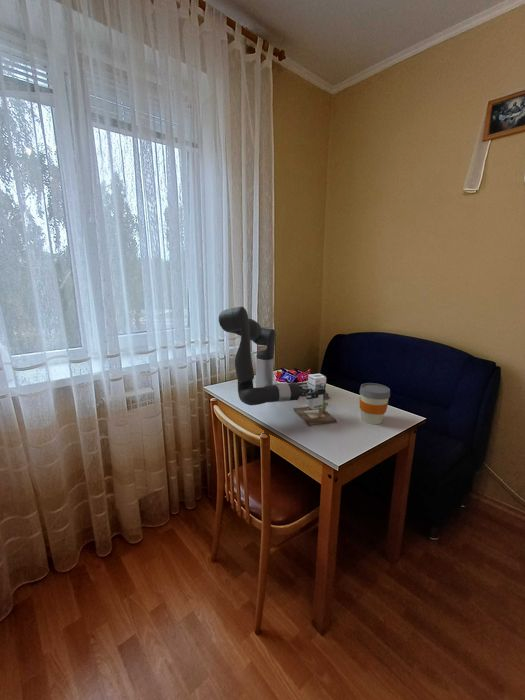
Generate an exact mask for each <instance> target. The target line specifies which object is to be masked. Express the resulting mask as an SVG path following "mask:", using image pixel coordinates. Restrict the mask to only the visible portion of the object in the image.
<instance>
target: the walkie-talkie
mask: <svg viewBox="0 0 525 700" xmlns="http://www.w3.org/2000/svg"><path fill="white" fill-rule="evenodd" d="M328 399H329V393H328V392H325V400H328ZM324 403H326V406H328V405H329V403H328V402H326V401H324Z"/></svg>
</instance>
